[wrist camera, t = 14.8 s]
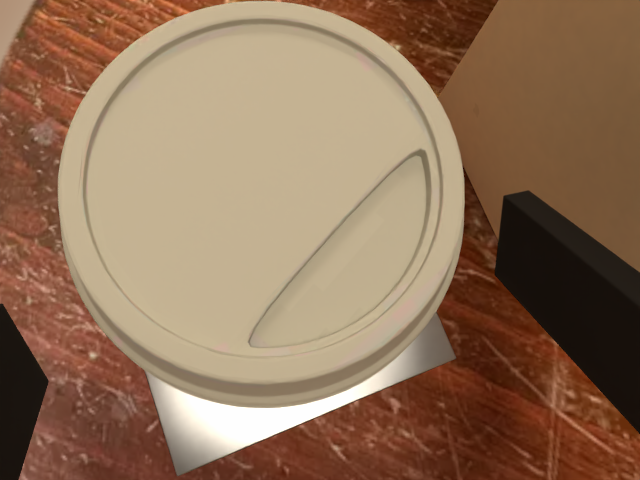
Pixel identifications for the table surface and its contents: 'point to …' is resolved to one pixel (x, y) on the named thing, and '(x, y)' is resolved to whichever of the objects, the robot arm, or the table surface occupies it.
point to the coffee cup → (261, 203)
